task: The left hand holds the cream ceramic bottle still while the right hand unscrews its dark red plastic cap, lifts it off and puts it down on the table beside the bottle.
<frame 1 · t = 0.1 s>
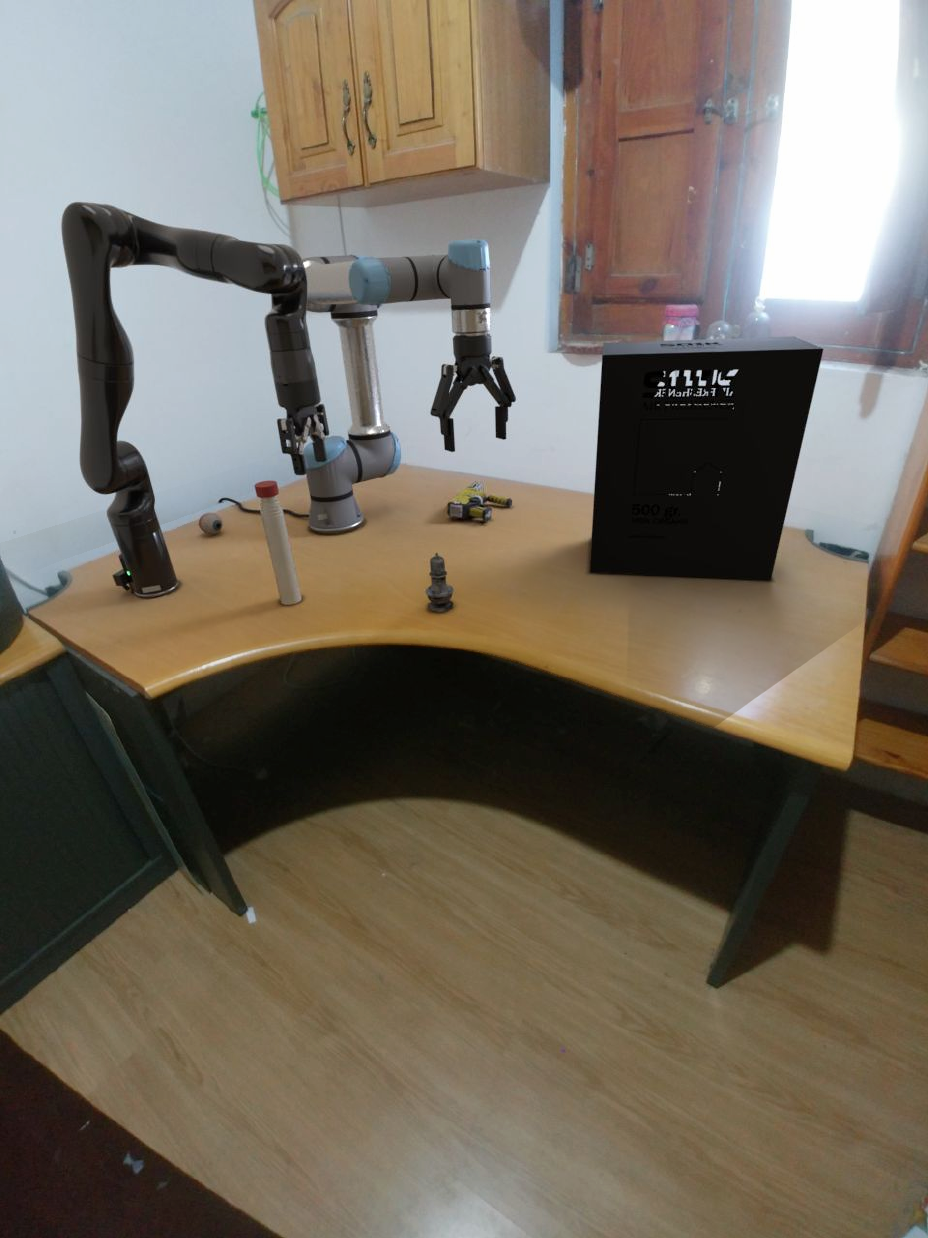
left hand: (311, 467, 114), 29 cm above the table, tool pointing down, fingers open, 8 cm apart
right hand: (476, 444, 127), 28 cm above the table, tool pointing down, fingers open, 13 cm apart
bottle: (291, 600, 131), on the table
eyeball: (214, 534, 168), on the table
cardboard box: (673, 557, 140), on the table
toy gun: (484, 508, 175), on the table
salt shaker: (440, 606, 125), on the table
cap: (265, 485, 118), point 26 cm above the table, screwed on, not yet turned
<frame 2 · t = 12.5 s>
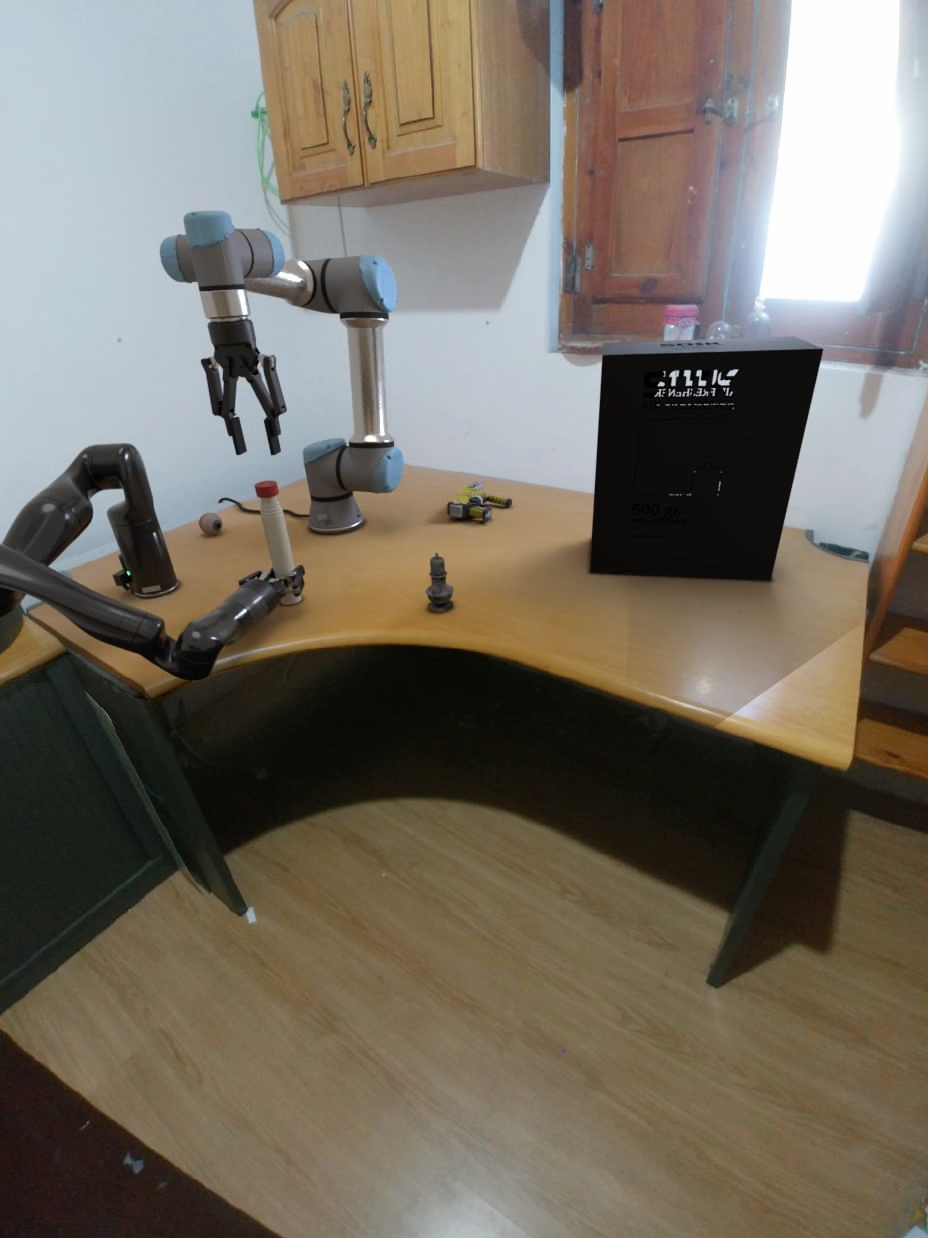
left hand: (291, 568, 130), 6 cm above the table, tool horizontal, fingers closed on bottle, 4 cm apart
right hand: (258, 453, 115), 32 cm above the table, tool pointing down, fingers open, 7 cm apart
bottle: (291, 600, 131), on the table, touching left hand
everything else where it was.
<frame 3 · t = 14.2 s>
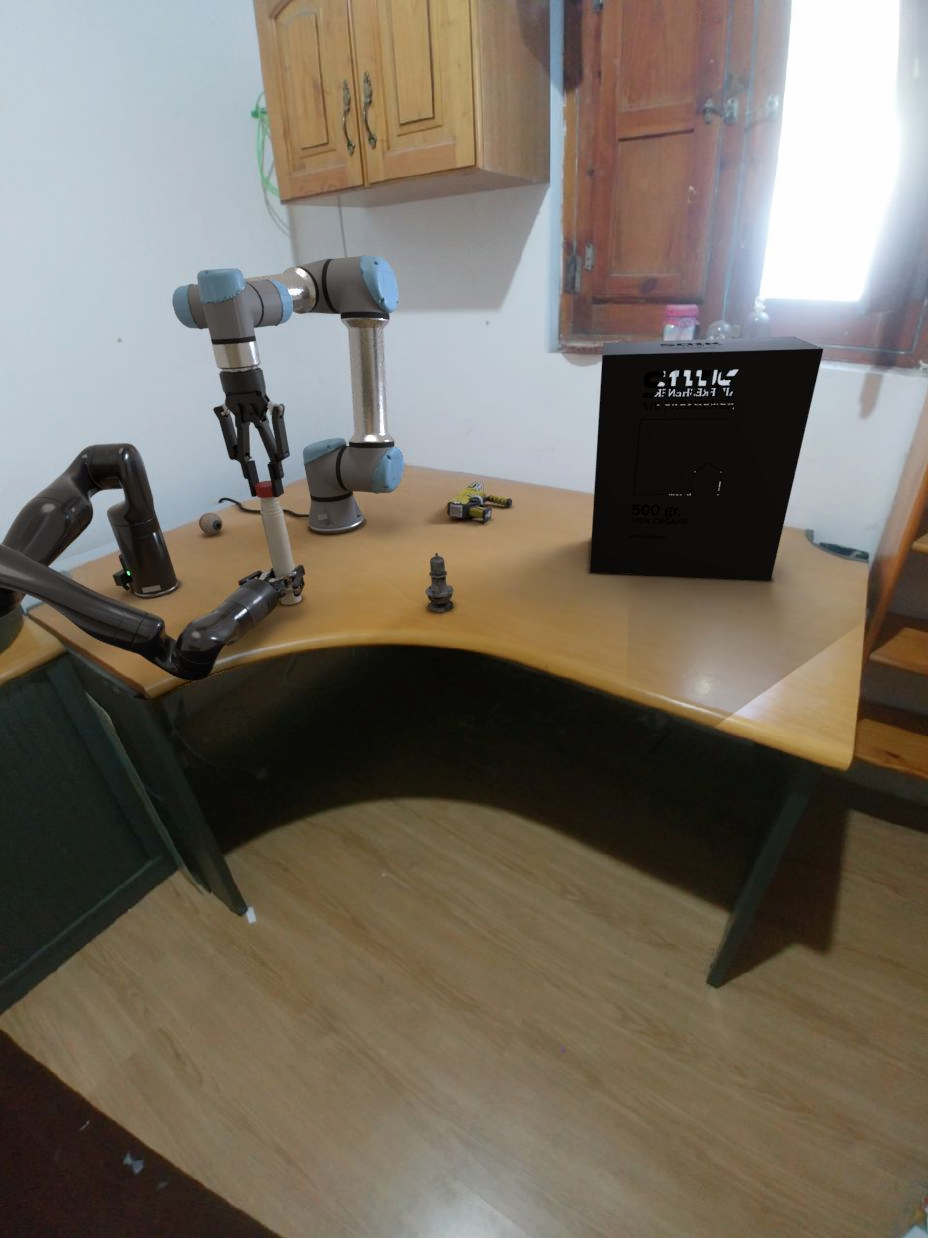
left hand: (291, 568, 130), 6 cm above the table, tool horizontal, fingers closed on bottle, 4 cm apart
right hand: (268, 494, 119), 24 cm above the table, tool pointing down, fingers closed on cap, 4 cm apart
bottle: (291, 600, 131), on the table, touching left hand
cap: (265, 485, 118), point 26 cm above the table, screwed on, not yet turned, touching right hand
everything else where it was.
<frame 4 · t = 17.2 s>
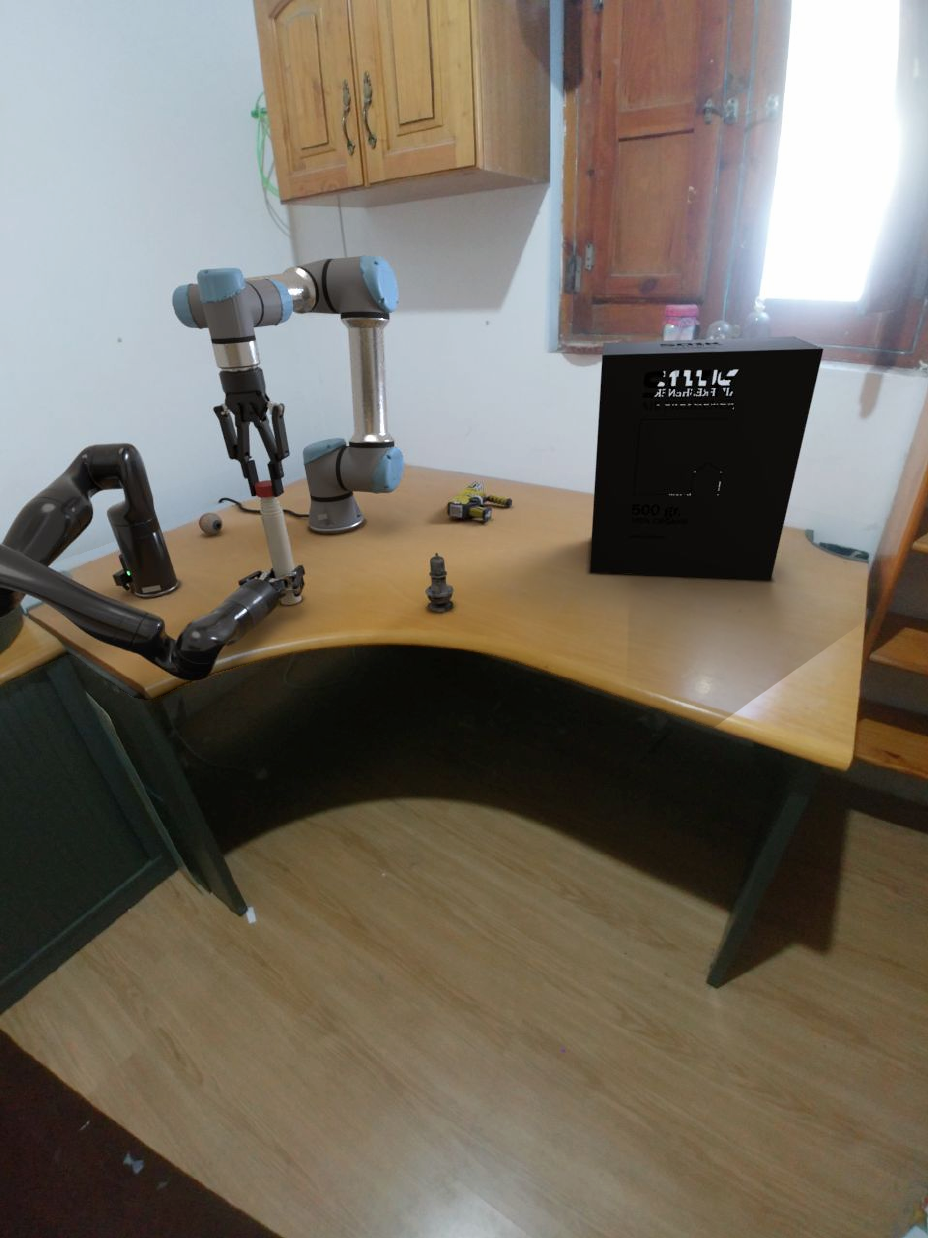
left hand: (291, 568, 130), 6 cm above the table, tool horizontal, fingers closed on bottle, 4 cm apart
right hand: (267, 494, 119), 24 cm above the table, tool pointing down, fingers closed on cap, 4 cm apart
bottle: (291, 600, 131), on the table, touching left hand
cap: (265, 484, 118), point 26 cm above the table, turned 80° so far, risen 0.1 cm, still on its thread, touching right hand
everything else where it was.
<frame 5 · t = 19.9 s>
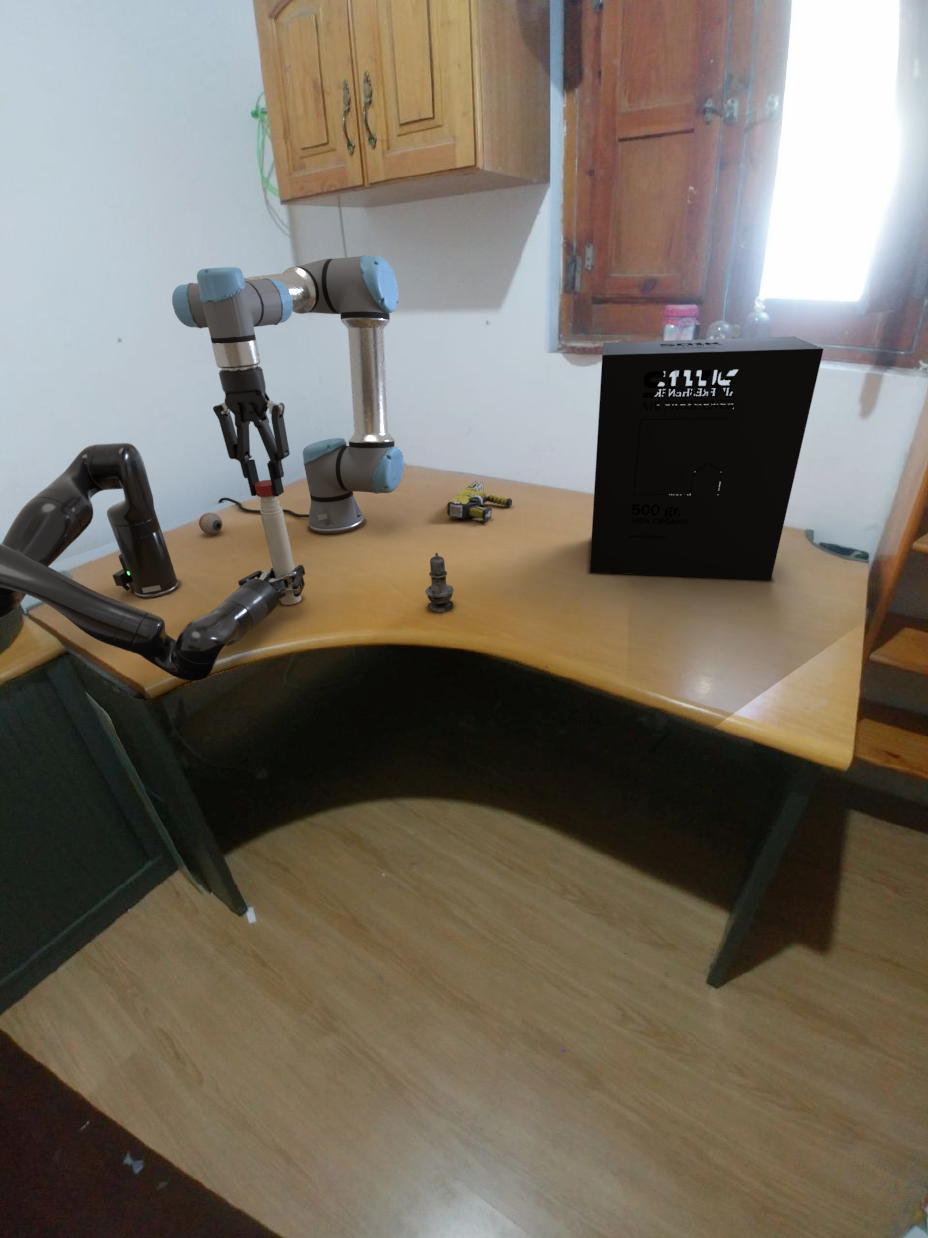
left hand: (291, 568, 130), 6 cm above the table, tool horizontal, fingers closed on bottle, 4 cm apart
right hand: (267, 493, 119), 24 cm above the table, tool pointing down, fingers closed on cap, 4 cm apart
bottle: (291, 600, 131), on the table, touching left hand
cap: (265, 484, 118), point 26 cm above the table, turned 161° so far, risen 0.2 cm, still on its thread, touching right hand
everything else where it was.
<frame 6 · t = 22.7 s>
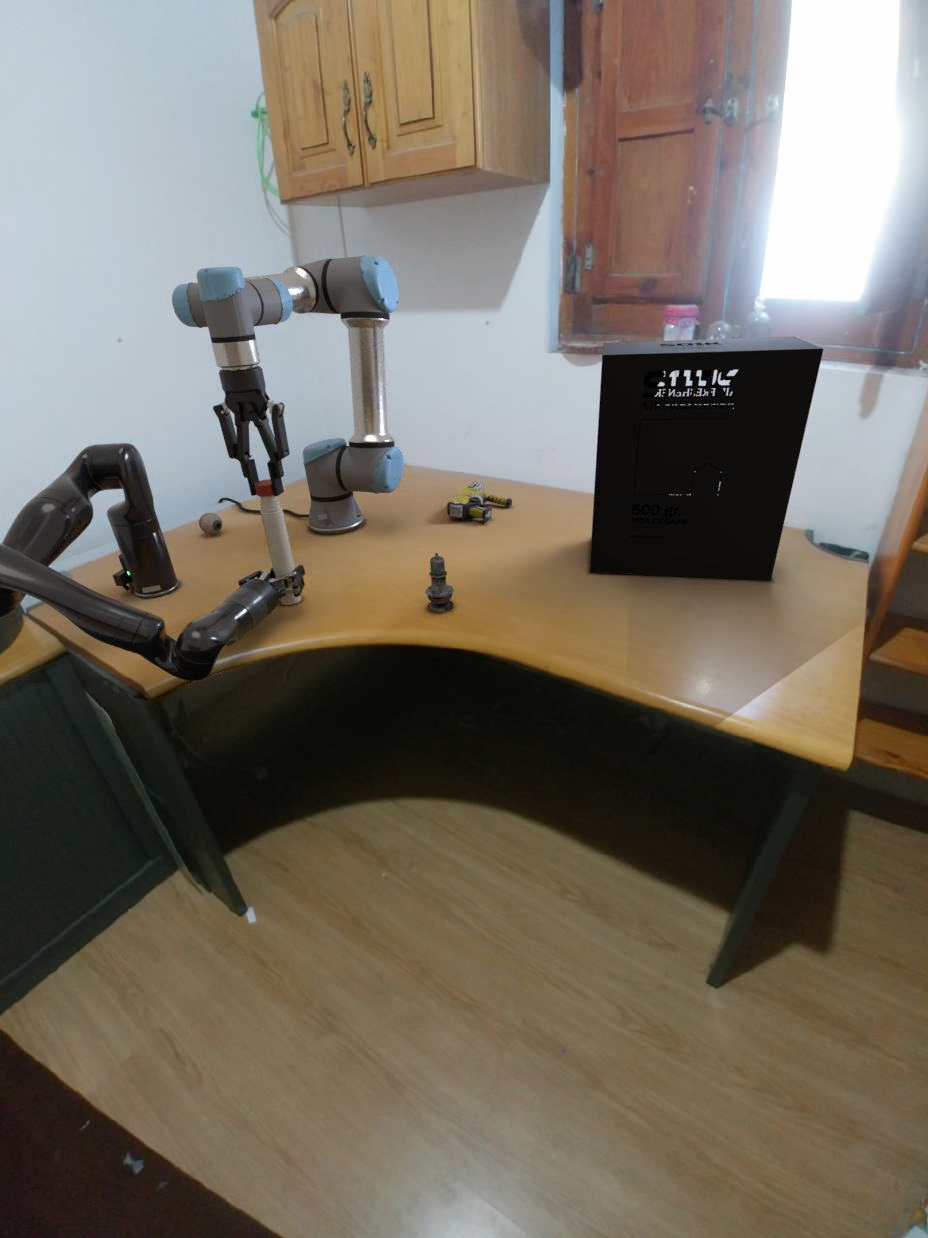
left hand: (291, 568, 130), 6 cm above the table, tool horizontal, fingers closed on bottle, 4 cm apart
right hand: (267, 493, 119), 24 cm above the table, tool pointing down, fingers closed on cap, 4 cm apart
bottle: (291, 600, 131), on the table, touching left hand
cap: (265, 484, 118), point 26 cm above the table, turned 241° so far, risen 0.2 cm, still on its thread, touching right hand
everything else where it was.
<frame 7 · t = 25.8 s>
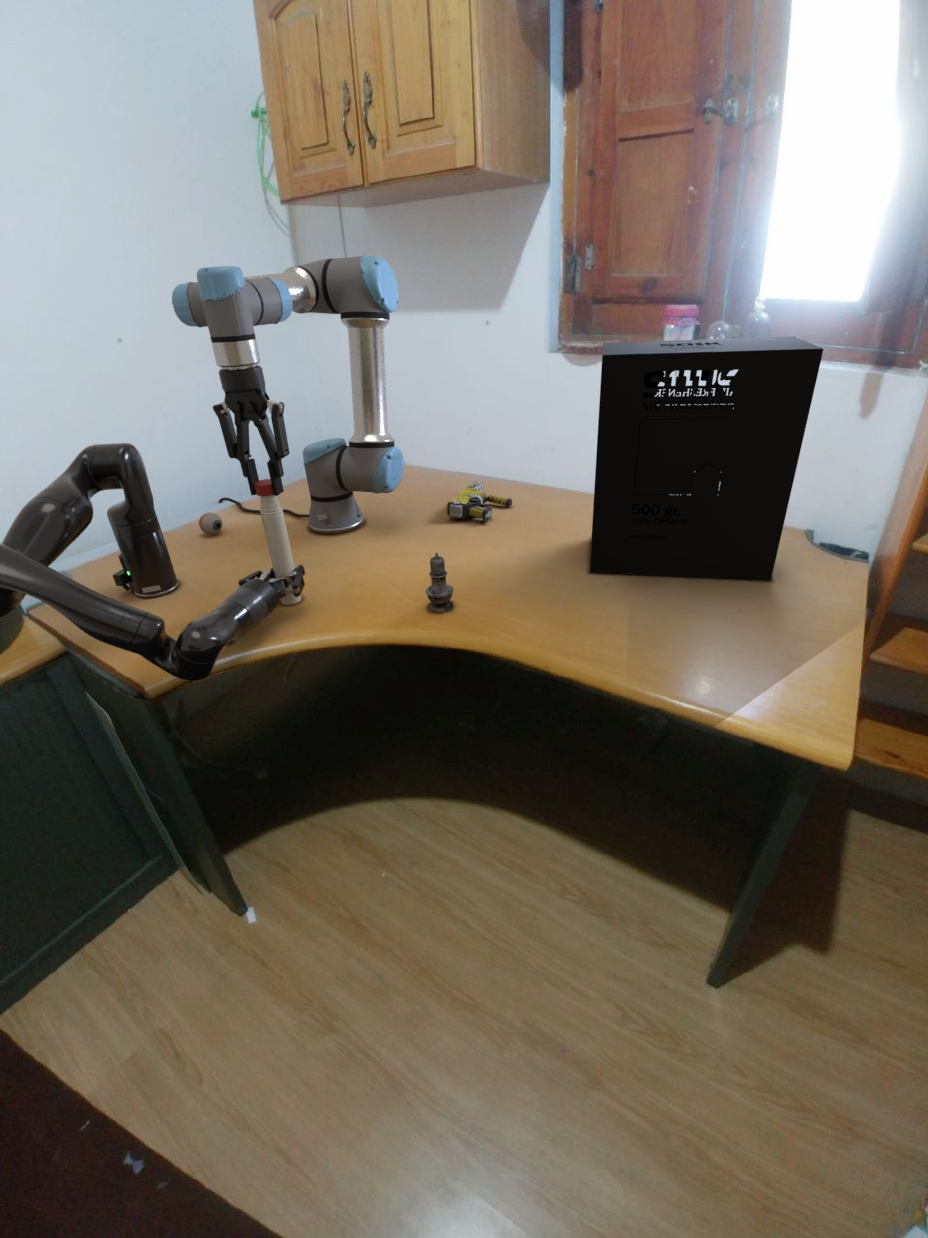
left hand: (291, 568, 130), 6 cm above the table, tool horizontal, fingers closed on bottle, 4 cm apart
right hand: (267, 492, 119), 24 cm above the table, tool pointing down, fingers closed on cap, 4 cm apart
bottle: (291, 600, 131), on the table, touching left hand
cap: (265, 483, 118), point 26 cm above the table, turned 321° so far, risen 0.3 cm, still on its thread, touching right hand
everything else where it was.
when the right hand's fingers open (1 cm above the table, at t = 33.8 s): cap drops 1 cm, point 2 cm above the table.
when the left hand's fingers open (6 cm above the table, at t = 35.0 s): bottle stays where it is, on the table.
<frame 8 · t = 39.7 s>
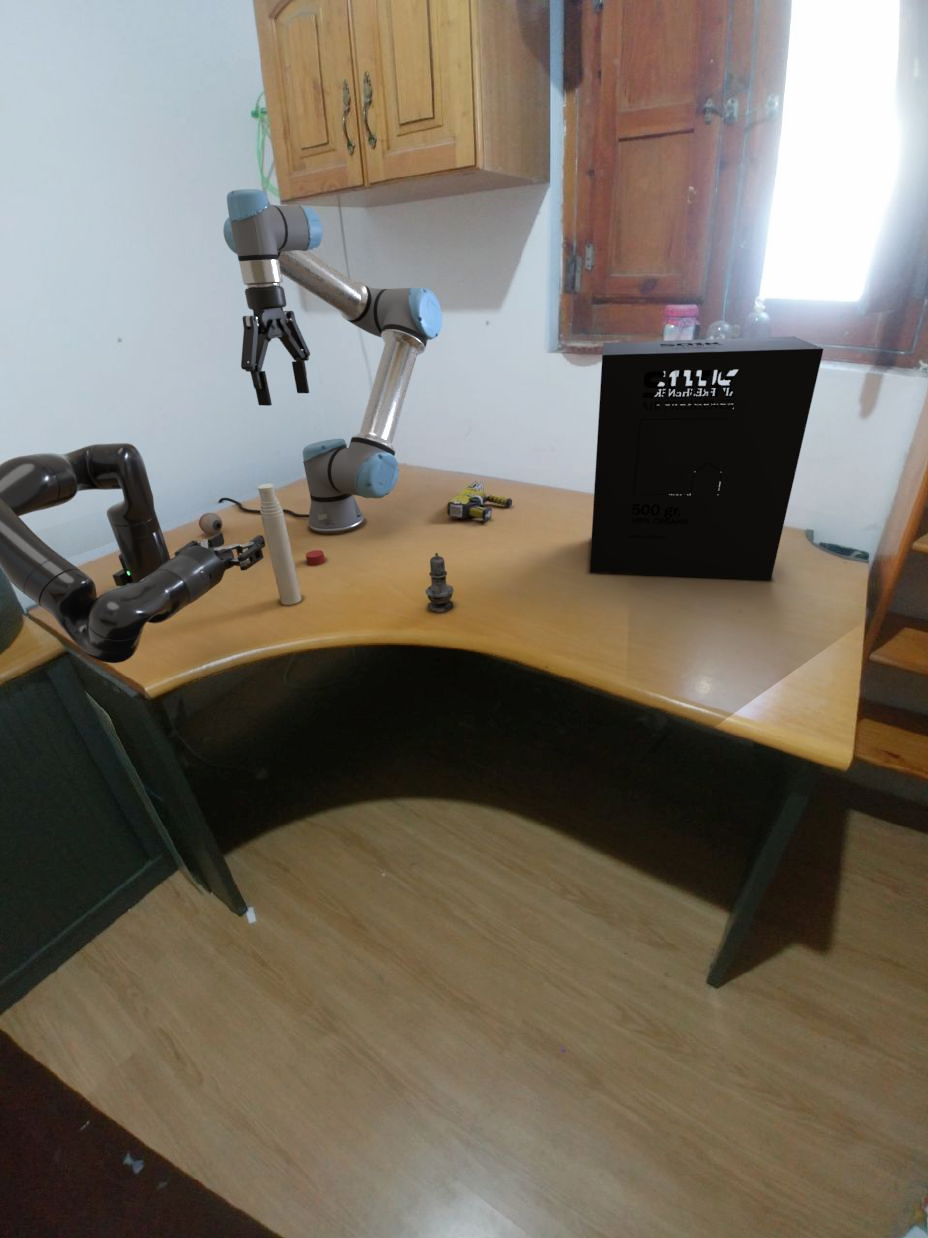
left hand: (242, 538, 112), 19 cm above the table, tool horizontal, fingers open, 8 cm apart
right hand: (285, 398, 129), 38 cm above the table, tool pointing down, fingers open, 13 cm apart
bottle: (291, 600, 131), on the table
cap: (314, 554, 148), point 2 cm above the table, off its thread
everything else where it was.
at the end: cap came off its thread; cap point 1.9 cm above the table; the left hand is holding nothing; the right hand is holding nothing; bottle tilted 0°; bottle moved 0.0 cm from its start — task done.
